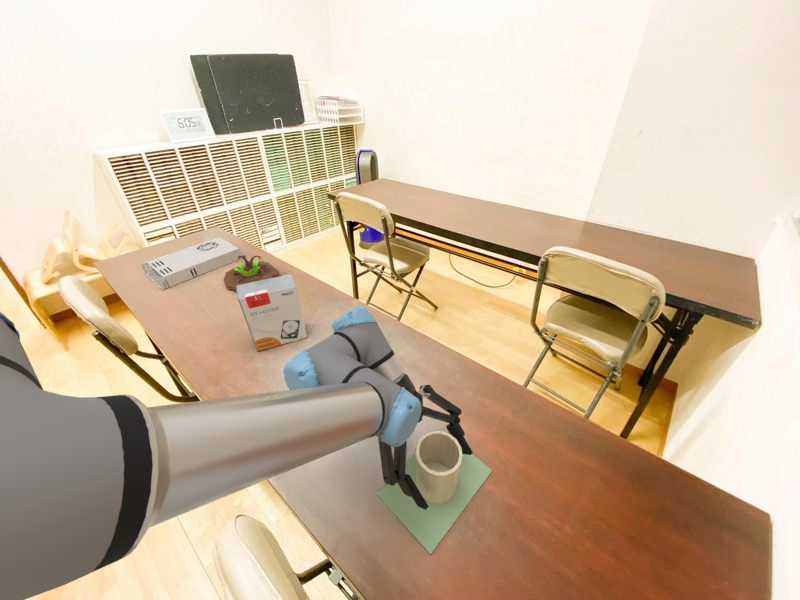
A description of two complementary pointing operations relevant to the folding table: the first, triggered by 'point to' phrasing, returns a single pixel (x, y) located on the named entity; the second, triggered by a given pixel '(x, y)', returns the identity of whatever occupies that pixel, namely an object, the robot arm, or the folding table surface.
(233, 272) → the plant
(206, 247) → the power supply unit
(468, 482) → the place mat
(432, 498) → the cup
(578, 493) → the folding table surface
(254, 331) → the hard drive box
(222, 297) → the folding table surface
